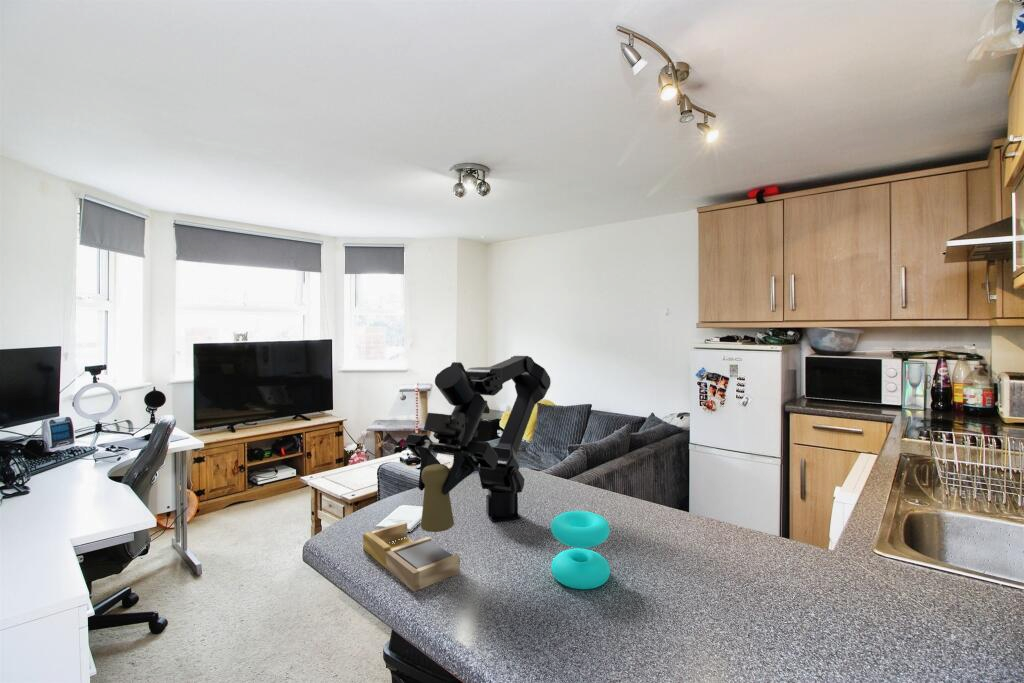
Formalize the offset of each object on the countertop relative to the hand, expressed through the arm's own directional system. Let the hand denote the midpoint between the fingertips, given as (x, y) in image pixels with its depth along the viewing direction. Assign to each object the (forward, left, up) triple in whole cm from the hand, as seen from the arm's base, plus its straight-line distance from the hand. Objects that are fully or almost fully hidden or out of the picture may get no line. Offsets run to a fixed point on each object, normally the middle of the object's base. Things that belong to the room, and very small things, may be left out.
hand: (431, 491), depth 85 cm
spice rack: (+4, -3, -13) cm, 14 cm away
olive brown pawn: (-1, -1, -7) cm, 7 cm away
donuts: (-24, +11, -14) cm, 30 cm away
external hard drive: (+4, -23, -14) cm, 27 cm away
